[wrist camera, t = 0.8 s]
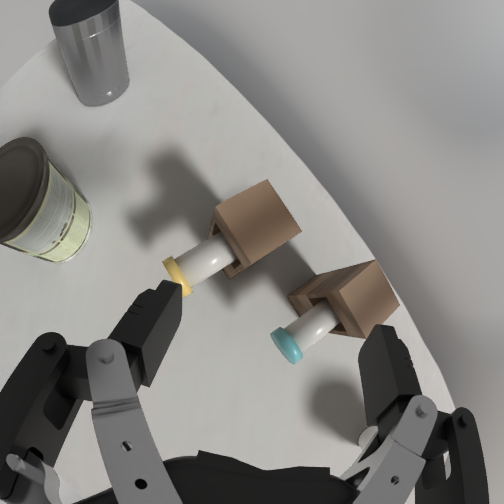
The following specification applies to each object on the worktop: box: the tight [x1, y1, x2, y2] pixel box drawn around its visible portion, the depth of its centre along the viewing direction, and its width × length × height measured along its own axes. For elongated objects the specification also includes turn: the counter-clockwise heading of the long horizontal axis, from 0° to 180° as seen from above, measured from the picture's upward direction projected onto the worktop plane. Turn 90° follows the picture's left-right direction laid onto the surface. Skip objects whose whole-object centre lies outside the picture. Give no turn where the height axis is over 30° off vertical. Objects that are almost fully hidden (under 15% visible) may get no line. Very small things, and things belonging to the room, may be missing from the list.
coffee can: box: [0, 137, 92, 264], centre depth 23 cm, size 10×10×14 cm
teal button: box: [271, 297, 341, 364], centre depth 26 cm, size 4×7×4 cm, turn 123°
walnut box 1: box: [207, 179, 302, 279], centre depth 28 cm, size 5×5×13 cm
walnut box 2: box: [287, 259, 400, 339], centre depth 29 cm, size 5×5×13 cm
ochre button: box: [162, 232, 238, 297], centre depth 25 cm, size 4×7×4 cm, turn 123°
